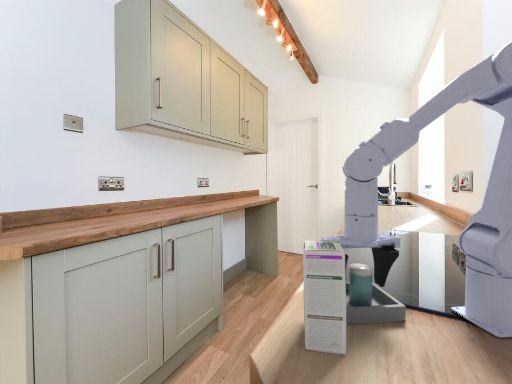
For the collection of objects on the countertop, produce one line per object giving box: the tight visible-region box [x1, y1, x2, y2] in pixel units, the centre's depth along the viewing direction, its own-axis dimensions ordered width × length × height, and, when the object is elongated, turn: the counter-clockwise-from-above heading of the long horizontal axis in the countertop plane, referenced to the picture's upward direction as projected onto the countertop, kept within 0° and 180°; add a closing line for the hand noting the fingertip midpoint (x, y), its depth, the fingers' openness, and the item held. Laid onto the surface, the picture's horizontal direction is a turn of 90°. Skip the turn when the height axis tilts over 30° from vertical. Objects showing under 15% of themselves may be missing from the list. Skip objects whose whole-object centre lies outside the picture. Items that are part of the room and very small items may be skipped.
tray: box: [346, 281, 407, 325], centre depth 44 cm, size 10×10×2 cm
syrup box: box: [302, 239, 347, 356], centre depth 35 cm, size 6×6×14 cm
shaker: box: [348, 262, 374, 307], centre depth 44 cm, size 4×4×7 cm
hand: (360, 285), depth 44 cm, fingers open, 7 cm apart
